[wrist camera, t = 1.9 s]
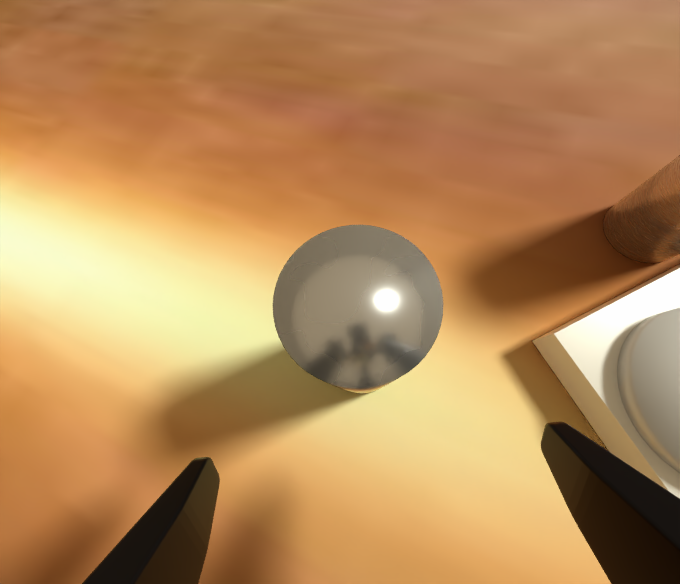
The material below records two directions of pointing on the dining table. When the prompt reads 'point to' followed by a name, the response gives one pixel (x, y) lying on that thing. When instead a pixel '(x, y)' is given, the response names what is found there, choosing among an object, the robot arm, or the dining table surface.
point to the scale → (628, 374)
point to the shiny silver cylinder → (358, 307)
